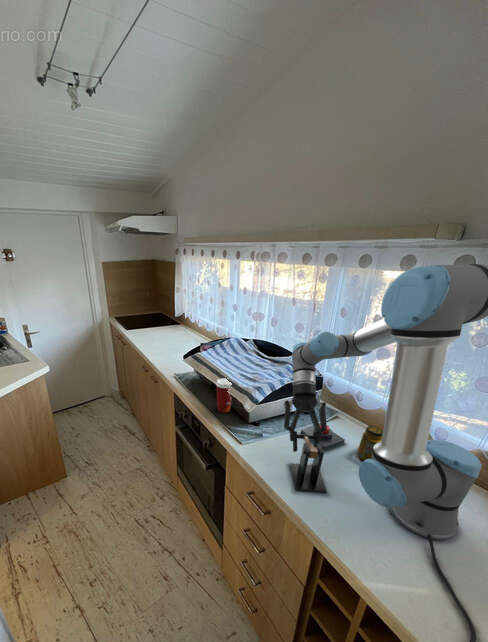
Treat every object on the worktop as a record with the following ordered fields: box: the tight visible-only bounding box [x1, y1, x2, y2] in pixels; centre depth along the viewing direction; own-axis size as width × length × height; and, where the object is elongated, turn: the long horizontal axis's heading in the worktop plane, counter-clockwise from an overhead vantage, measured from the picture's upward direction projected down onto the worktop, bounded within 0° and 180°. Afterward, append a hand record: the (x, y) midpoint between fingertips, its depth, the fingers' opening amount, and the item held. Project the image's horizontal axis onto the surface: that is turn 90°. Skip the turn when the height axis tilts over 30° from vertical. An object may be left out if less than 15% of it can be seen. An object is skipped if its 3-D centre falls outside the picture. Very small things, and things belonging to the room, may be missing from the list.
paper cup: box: [215, 377, 233, 414], centre depth 134 cm, size 8×8×14 cm
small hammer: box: [297, 433, 318, 459], centre depth 97 cm, size 12×6×2 cm, turn 173°
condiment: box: [355, 425, 384, 463], centre depth 104 cm, size 7×8×12 cm
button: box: [320, 425, 330, 434], centre depth 115 cm, size 4×4×2 cm
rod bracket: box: [289, 442, 327, 494], centre depth 95 cm, size 12×9×13 cm
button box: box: [300, 423, 346, 451], centre depth 116 cm, size 12×10×4 cm
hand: (305, 451), depth 100 cm, fingers closed on small hammer, 6 cm apart
